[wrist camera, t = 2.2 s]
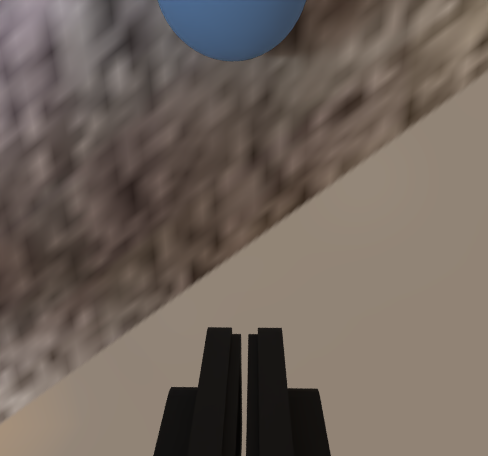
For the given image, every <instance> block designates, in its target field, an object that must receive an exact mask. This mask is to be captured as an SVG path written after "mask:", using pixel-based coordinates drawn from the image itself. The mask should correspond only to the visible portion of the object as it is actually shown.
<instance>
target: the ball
mask: <svg viewBox="0 0 488 456" xmlns="http://www.w3.org/2000/svg"><path fill="white" fill-rule="evenodd" d="M305 2H306V0H158V3H159V6H160V8H161V11H162V13H163V15H164V17H165V19H166V21H167V22H168V24H169V25H170V27H171V28H172V30H173V31H174V32H175V33H176V34H177V36H178V37H179V38H180V39H181V40H182V41H183V42H185V43H186V44H187V45H188V46H190V47H191V48H192V49H194V50H195V51H197V52H199V53H201V54H203V55H205V56H208V57H210V58H213V59H218V60H222V61H243V60H248V59H252V58H255V57H258V56H260V55H262V54H264V53H266V52H268V51H270V50H271V49H273V48H274V47H275V46H277V45H278V44H279V43H280V42H281V41H282V40H283V39H284V38H285V37H286V36H287V35H288V34H289V32H290V31H291V30H292V29H293V27H294V25H295V24H296V22H297V21H298V19H299V17H300V15H301V13H302V11H303V8H304V5H305Z"/></svg>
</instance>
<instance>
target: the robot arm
mask: <svg viewBox="0 0 488 456" xmlns="http://www.w3.org/2000/svg"><path fill="white" fill-rule="evenodd" d="M248 337H249V338H248V386H247V389H248V390H247V436H246V456H331V455H330V450H329V444H328V438H327V433H326V427H325V422H324V417H323V411H322V405H321V400H320V395H319V391H318V389H297V388H296V389H293V388H287V378H286V368H285V357H284V347H283V336H282V328H258V334H249V335H248ZM241 449H242V377H241V334H232V328H216V327H215V328H214V327H208V329H207V335H206V341H205V347H204V353H203V359H202V366H201V372H200V378H199V384H198V387H171V389H170V391H169V394H168V398H167V402H166V406H165V410H164V414H163V419H162V422H161V426H160V431H159V435H158V439H157V443H156V447H155V451H154V455H153V456H241Z"/></svg>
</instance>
